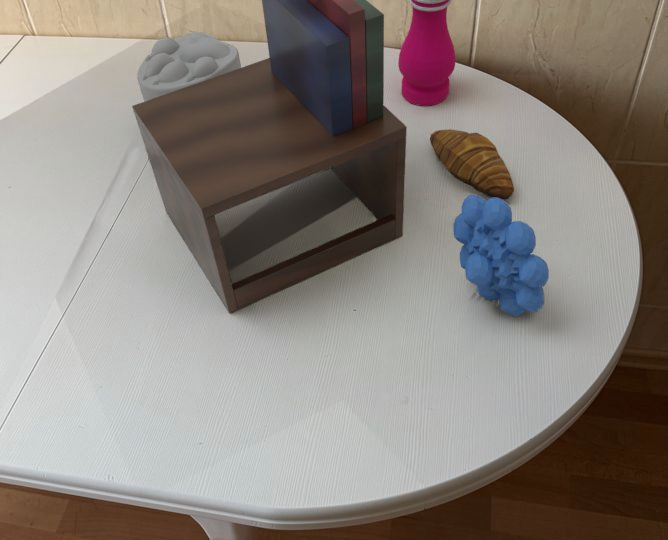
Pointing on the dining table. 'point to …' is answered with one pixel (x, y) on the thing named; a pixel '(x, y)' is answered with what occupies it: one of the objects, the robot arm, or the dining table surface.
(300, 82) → the bookshelf
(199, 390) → the dining table surface
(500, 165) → the croissant
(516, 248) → the grapes
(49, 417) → the dining table surface
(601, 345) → the dining table surface
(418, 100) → the pepper mill
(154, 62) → the lumpy-topped squat cylinder
